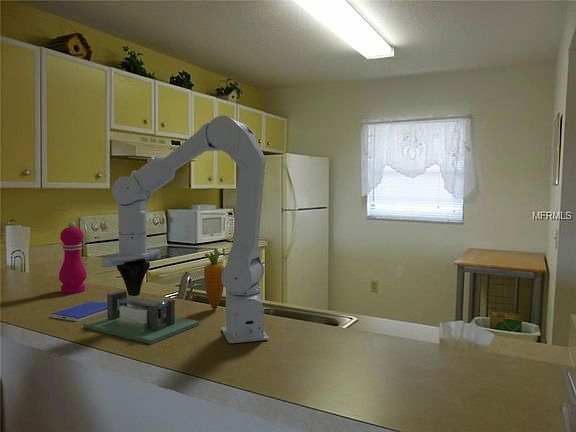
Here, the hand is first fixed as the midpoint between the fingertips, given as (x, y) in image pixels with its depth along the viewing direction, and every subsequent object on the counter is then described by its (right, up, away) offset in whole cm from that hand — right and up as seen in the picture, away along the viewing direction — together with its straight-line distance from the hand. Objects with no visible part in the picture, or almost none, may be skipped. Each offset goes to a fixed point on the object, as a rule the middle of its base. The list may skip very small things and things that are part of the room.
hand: (133, 295), depth 97 cm
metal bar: (+2, -3, -1) cm, 4 cm away
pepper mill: (-28, -5, +30) cm, 42 cm away
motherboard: (+2, -7, -1) cm, 7 cm away
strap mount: (+1, -6, 0) cm, 6 cm away
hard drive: (-15, -7, +10) cm, 19 cm away
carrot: (+16, -6, +13) cm, 21 cm away
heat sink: (+3, -6, -1) cm, 7 cm away
